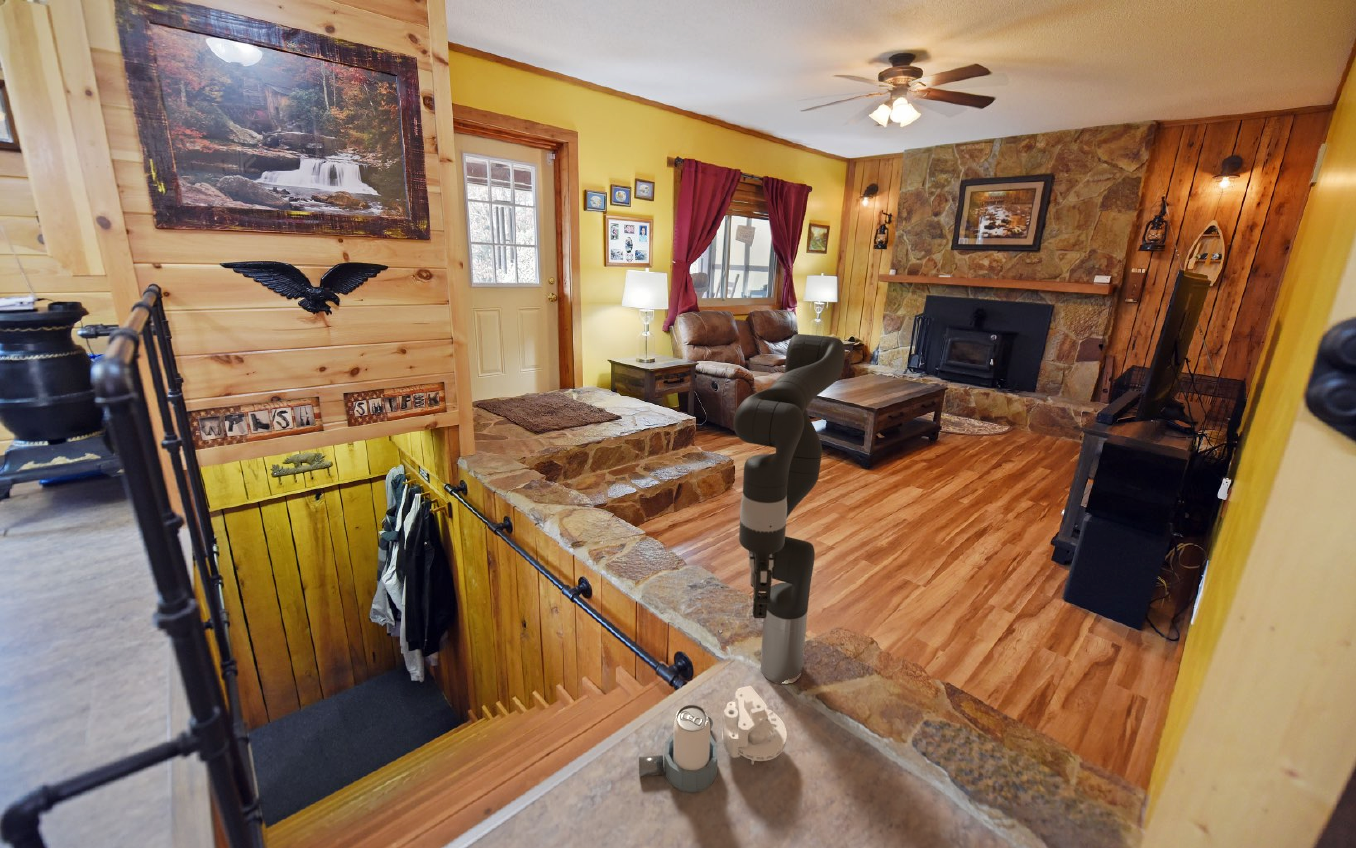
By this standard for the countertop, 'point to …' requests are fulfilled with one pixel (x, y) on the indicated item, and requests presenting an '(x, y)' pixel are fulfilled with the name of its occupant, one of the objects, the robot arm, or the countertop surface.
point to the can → (691, 738)
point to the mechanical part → (752, 728)
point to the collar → (690, 778)
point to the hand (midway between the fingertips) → (757, 600)
